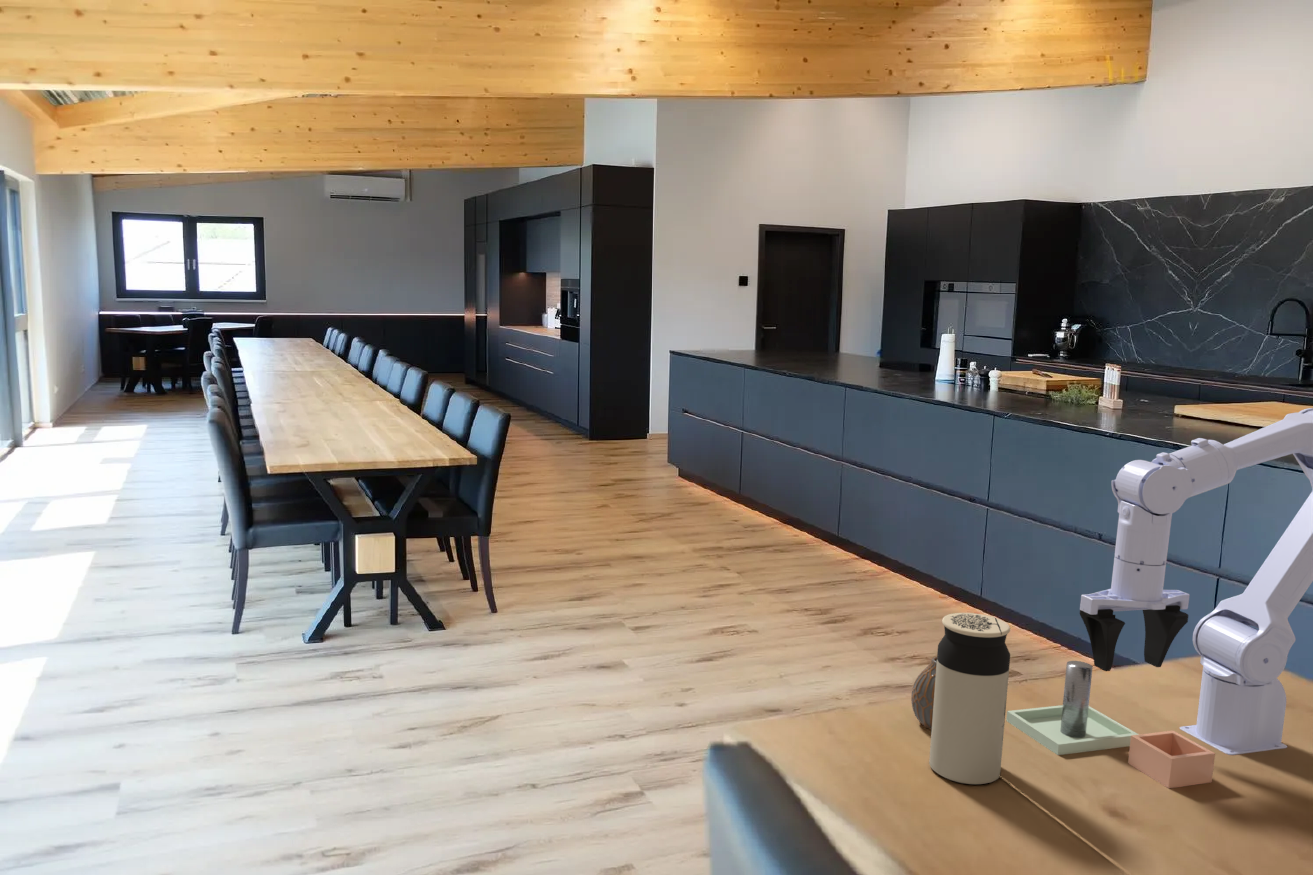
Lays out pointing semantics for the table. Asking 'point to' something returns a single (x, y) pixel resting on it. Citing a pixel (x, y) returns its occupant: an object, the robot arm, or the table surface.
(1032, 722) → the tray
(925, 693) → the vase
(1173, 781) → the salmon open box
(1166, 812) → the table surface
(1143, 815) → the table surface
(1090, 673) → the dowel
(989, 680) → the travel mug
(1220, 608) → the robot arm
